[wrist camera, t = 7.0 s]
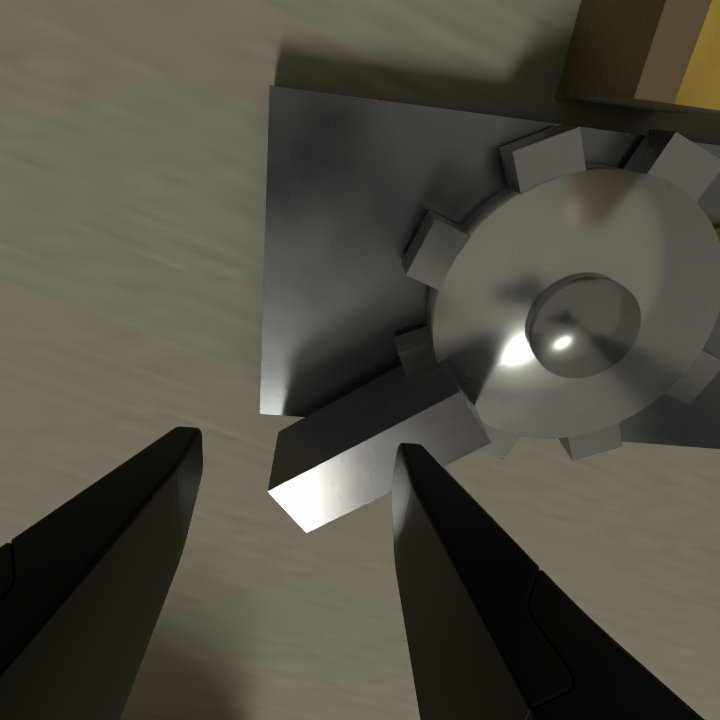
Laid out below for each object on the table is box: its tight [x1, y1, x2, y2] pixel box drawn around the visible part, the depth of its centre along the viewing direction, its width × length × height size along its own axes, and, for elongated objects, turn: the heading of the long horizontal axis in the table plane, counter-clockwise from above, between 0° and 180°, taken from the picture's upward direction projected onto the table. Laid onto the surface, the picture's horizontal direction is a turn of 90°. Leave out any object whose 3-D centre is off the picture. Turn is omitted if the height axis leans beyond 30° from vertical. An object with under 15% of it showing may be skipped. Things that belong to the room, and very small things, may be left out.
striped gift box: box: [556, 0, 720, 115], centre depth 14 cm, size 4×4×5 cm
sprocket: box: [268, 124, 720, 533], centre depth 18 cm, size 18×12×4 cm
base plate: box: [260, 85, 720, 449], centre depth 19 cm, size 22×12×1 cm, turn 83°
